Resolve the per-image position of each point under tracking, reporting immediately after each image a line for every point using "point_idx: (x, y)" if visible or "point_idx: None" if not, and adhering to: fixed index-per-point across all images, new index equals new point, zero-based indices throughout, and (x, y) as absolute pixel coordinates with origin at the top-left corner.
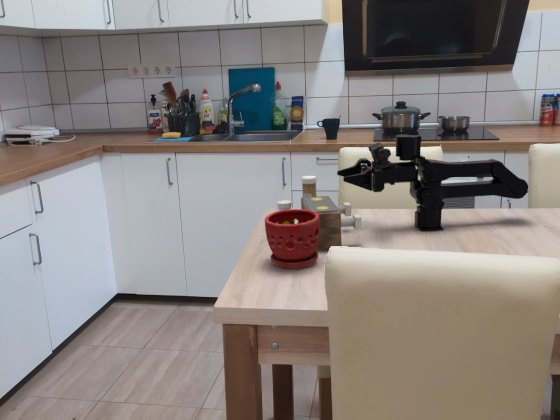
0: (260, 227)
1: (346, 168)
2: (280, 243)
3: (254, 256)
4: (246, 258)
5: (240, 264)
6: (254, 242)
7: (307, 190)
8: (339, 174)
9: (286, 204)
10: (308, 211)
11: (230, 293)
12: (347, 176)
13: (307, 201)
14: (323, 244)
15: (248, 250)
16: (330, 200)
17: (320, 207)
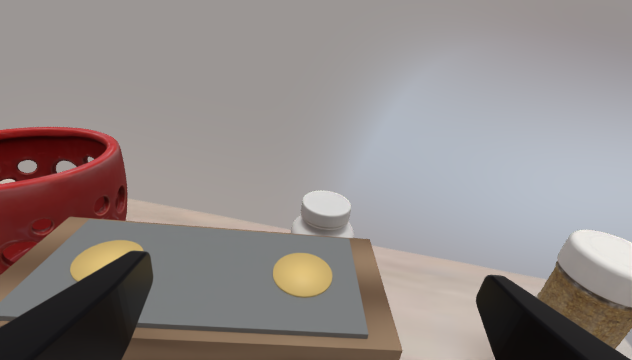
0: (388, 249)
1: (610, 357)
2: None
3: (170, 220)
4: (167, 209)
5: (138, 200)
6: (268, 229)
7: (546, 290)
8: (484, 314)
9: (302, 206)
10: (15, 182)
11: (5, 180)
12: (114, 273)
13: (275, 239)
14: None
15: (217, 216)
16: (254, 327)
17: (123, 254)
